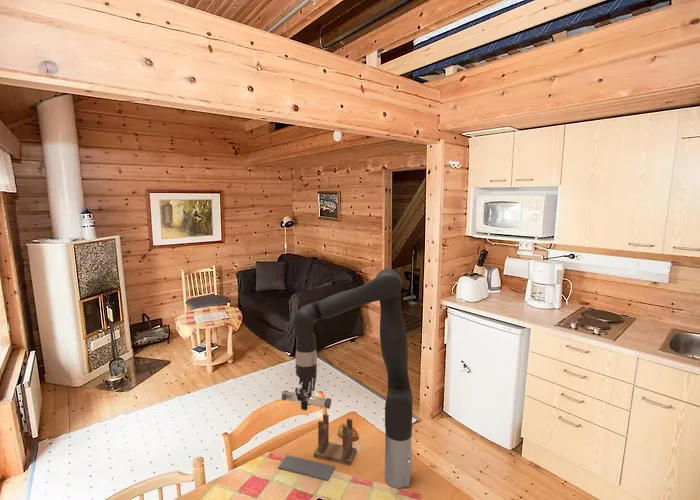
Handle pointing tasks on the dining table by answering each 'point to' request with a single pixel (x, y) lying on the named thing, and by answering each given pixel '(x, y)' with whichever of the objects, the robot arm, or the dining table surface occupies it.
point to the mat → (307, 467)
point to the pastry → (354, 432)
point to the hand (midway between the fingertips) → (306, 406)
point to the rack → (332, 450)
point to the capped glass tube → (311, 399)
